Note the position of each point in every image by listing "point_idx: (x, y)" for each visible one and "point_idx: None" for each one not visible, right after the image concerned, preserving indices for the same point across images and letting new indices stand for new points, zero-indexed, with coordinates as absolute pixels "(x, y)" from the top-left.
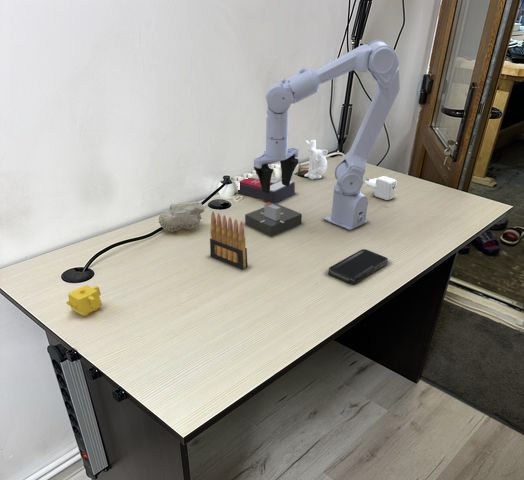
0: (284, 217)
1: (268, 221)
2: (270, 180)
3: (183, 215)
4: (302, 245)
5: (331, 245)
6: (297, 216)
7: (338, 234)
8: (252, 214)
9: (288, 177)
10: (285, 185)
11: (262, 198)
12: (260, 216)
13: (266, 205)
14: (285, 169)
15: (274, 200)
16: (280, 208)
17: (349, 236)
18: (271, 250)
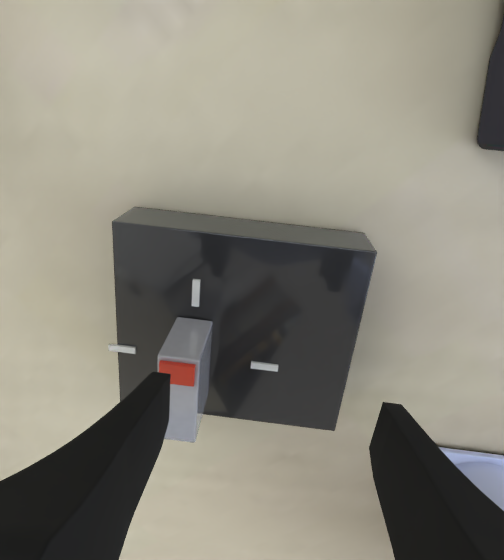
0: (240, 396)
1: (147, 367)
2: (127, 530)
3: None
4: (175, 479)
5: (245, 537)
6: (301, 423)
7: (336, 523)
8: (144, 255)
9: (389, 518)
10: (373, 433)
11: (502, 30)
12: (159, 304)
13: (157, 371)
14: (424, 556)
15: (491, 148)
16: (193, 439)
17: (346, 550)
18: (62, 427)
